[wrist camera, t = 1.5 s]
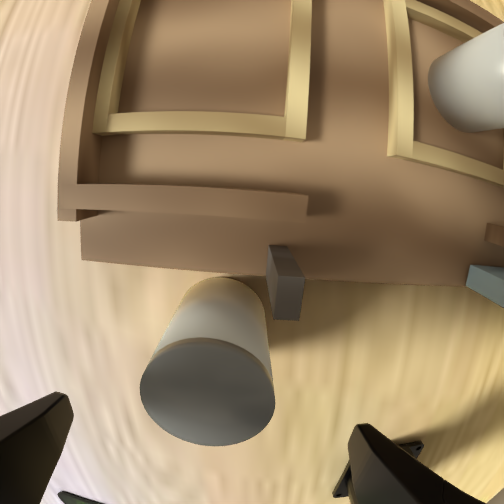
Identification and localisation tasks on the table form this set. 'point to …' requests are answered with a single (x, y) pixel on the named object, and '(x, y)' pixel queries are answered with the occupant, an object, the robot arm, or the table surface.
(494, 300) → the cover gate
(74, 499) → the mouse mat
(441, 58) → the pin
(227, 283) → the grey pin
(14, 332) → the table surface
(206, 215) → the tray
